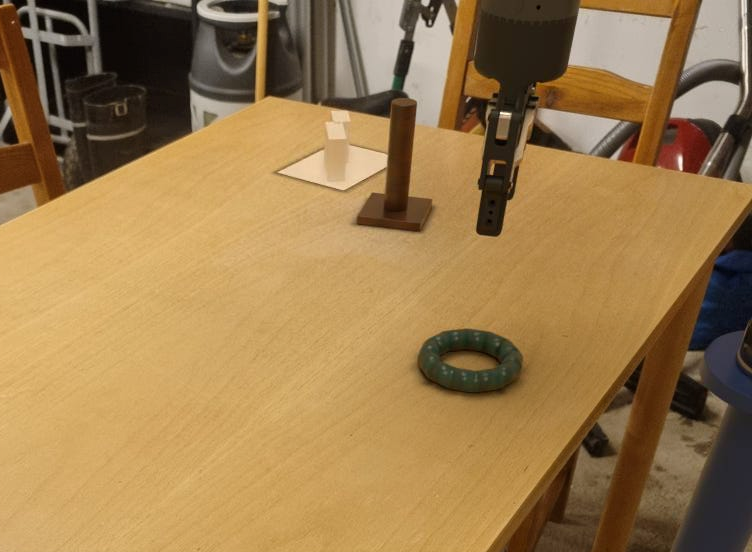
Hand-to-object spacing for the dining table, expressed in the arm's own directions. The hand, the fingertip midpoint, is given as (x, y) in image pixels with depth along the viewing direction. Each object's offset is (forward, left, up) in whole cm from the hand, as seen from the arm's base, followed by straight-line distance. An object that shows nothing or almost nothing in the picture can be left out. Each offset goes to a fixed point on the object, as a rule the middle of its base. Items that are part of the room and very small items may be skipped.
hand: (495, 215), depth 84 cm
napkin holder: (+26, -47, -14) cm, 55 cm away
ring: (0, +3, -13) cm, 13 cm away
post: (+15, -32, -14) cm, 38 cm away
